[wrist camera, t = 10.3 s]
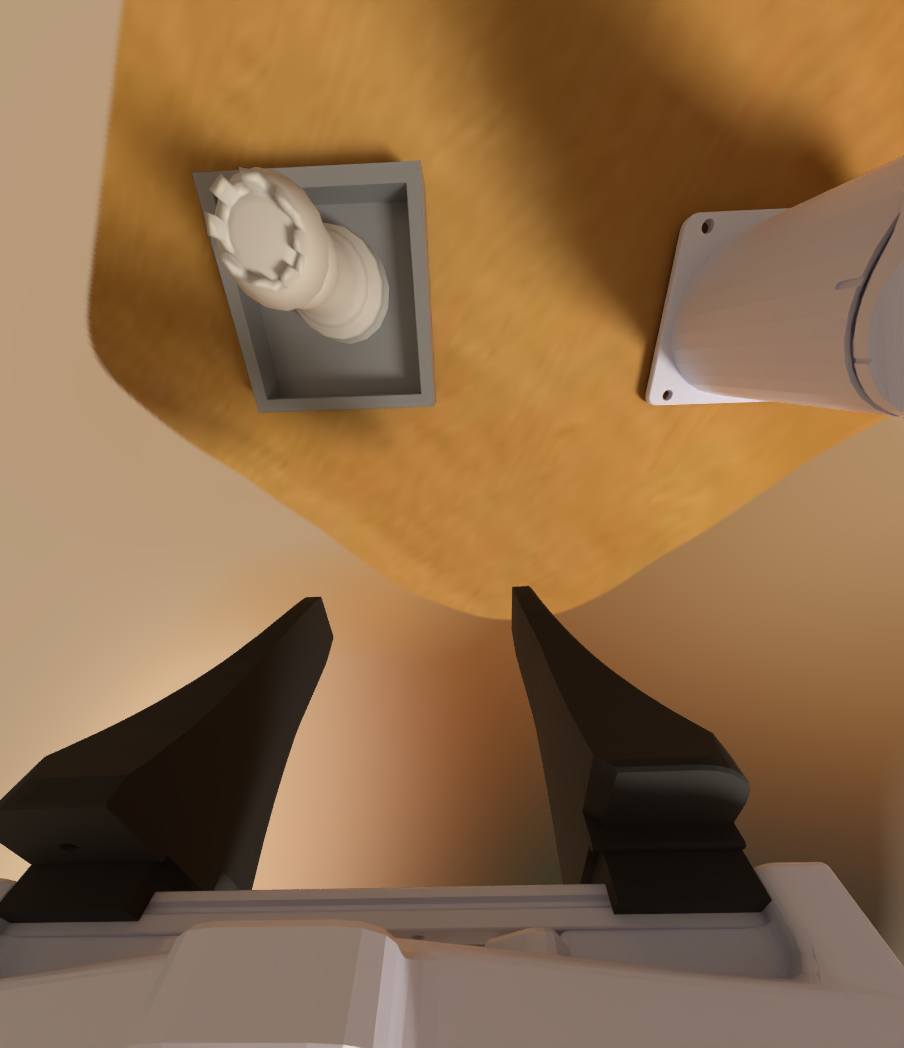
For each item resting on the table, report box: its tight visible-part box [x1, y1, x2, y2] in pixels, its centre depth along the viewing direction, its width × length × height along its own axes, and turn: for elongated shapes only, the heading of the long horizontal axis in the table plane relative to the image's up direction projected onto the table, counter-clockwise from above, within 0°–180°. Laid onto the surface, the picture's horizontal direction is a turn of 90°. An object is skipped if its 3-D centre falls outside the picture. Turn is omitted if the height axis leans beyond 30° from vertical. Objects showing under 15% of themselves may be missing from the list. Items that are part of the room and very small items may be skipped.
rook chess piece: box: [204, 167, 389, 344], centre depth 12 cm, size 4×4×8 cm
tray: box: [192, 161, 436, 413], centre depth 16 cm, size 9×9×2 cm
